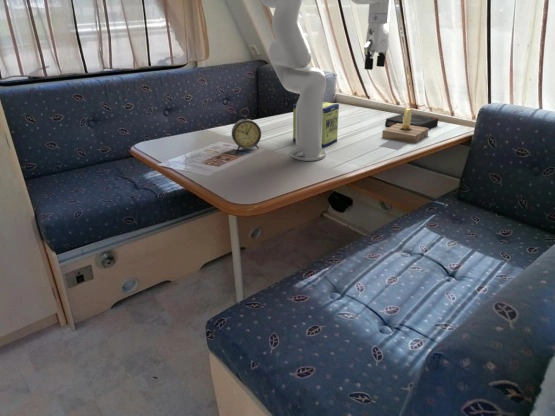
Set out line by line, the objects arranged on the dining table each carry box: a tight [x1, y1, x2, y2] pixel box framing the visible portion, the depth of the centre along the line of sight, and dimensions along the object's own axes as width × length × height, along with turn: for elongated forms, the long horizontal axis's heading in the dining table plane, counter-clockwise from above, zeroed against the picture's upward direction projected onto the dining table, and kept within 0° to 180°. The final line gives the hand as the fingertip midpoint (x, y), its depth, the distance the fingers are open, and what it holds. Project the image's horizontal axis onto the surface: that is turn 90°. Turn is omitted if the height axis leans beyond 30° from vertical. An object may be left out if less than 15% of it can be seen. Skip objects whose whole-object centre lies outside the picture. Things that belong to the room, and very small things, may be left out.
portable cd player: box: [384, 113, 439, 130], centre depth 186 cm, size 16×17×4 cm
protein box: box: [292, 101, 340, 149], centre depth 165 cm, size 10×16×16 cm
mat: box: [379, 139, 410, 151], centre depth 162 cm, size 10×8×1 cm
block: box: [381, 123, 430, 145], centre depth 171 cm, size 14×14×4 cm
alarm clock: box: [231, 108, 262, 152], centre depth 158 cm, size 11×5×16 cm, turn 105°
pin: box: [402, 107, 413, 131], centre depth 169 cm, size 3×3×12 cm
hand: (374, 68), depth 158 cm, fingers open, 9 cm apart
